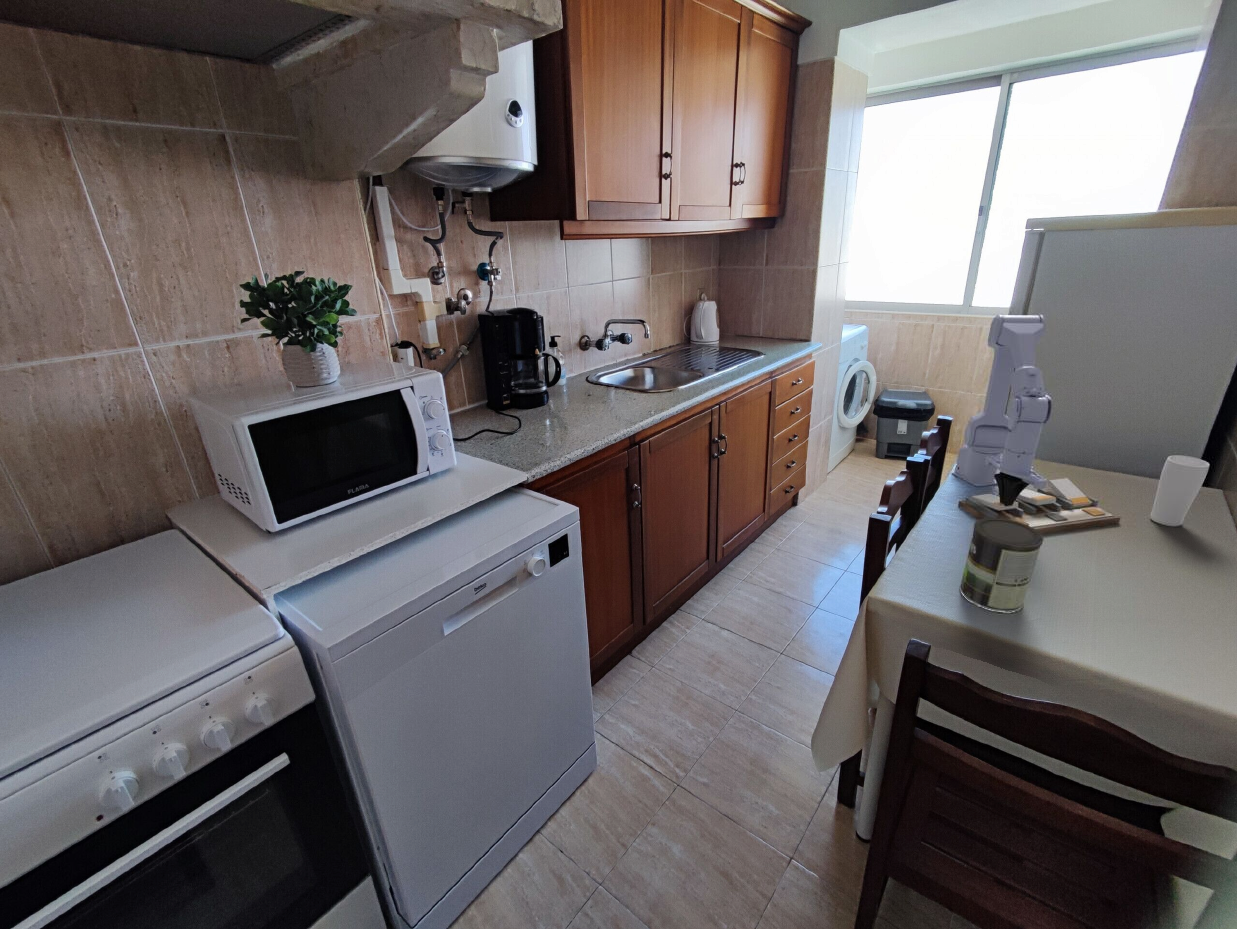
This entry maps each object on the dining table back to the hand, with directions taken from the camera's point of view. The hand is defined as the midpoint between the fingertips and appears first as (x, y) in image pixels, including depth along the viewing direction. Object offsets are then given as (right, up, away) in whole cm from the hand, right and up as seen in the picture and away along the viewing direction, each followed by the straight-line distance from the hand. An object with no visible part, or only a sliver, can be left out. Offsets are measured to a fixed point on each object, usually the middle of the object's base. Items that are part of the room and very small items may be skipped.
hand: (1006, 504), depth 128 cm
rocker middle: (+9, +1, +5) cm, 11 cm away
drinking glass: (+35, -4, -1) cm, 35 cm away
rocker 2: (+19, +2, +6) cm, 20 cm away
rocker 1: (0, 0, +3) cm, 3 cm away
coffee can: (-19, -16, -23) cm, 34 cm away
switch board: (+10, -3, +4) cm, 11 cm away
